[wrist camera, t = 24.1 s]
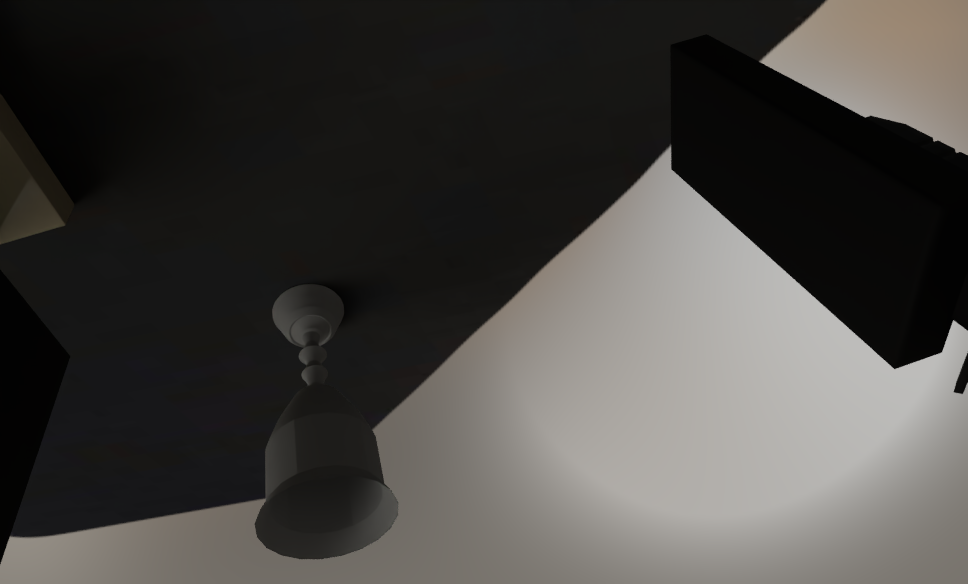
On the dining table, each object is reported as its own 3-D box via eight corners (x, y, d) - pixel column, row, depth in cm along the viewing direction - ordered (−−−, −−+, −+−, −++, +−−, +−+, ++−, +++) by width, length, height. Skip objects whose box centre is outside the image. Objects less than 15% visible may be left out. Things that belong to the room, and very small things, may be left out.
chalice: (366, 277, 48) (410, 472, 34) (352, 349, 52) (386, 553, 38) (259, 270, 46) (260, 478, 32) (252, 347, 49) (249, 564, 35)
